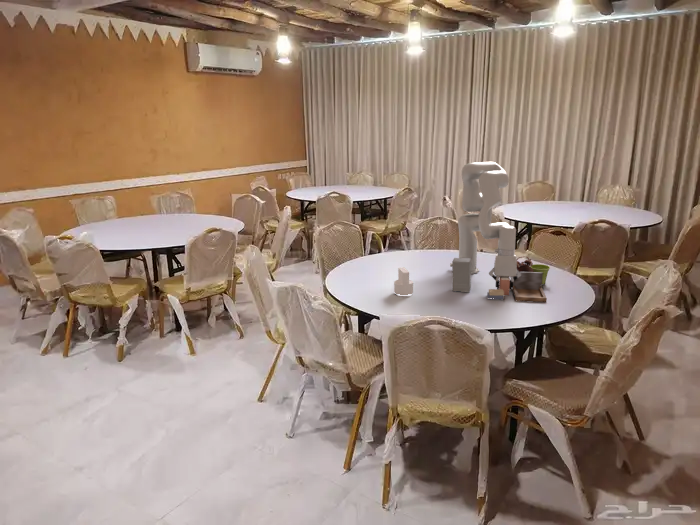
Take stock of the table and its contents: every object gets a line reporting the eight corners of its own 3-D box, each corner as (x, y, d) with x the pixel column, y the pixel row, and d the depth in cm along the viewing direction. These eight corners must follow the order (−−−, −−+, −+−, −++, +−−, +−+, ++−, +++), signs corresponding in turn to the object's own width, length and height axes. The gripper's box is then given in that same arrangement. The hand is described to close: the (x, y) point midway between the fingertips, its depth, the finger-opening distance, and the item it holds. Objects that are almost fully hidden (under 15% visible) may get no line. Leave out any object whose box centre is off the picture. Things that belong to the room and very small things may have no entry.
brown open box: (515, 300, 230) (516, 282, 228) (512, 289, 246) (513, 271, 244) (546, 302, 227) (547, 283, 225) (541, 290, 243) (542, 272, 241)
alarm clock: (528, 283, 254) (530, 254, 250) (533, 286, 249) (535, 257, 245) (508, 285, 252) (510, 256, 248) (513, 288, 248) (515, 258, 244)
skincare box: (470, 289, 248) (472, 257, 244) (469, 293, 242) (470, 261, 237) (453, 287, 251) (454, 256, 247) (451, 292, 244) (452, 260, 240)
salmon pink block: (500, 295, 238) (500, 279, 236) (498, 289, 247) (499, 273, 244) (508, 295, 237) (509, 279, 235) (507, 289, 246) (508, 273, 244)
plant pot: (550, 286, 249) (551, 269, 246) (530, 285, 251) (531, 269, 248) (547, 280, 257) (548, 264, 255) (527, 280, 259) (528, 263, 257)
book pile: (487, 299, 233) (487, 291, 232) (487, 296, 237) (487, 288, 236) (503, 300, 231) (504, 292, 230) (503, 297, 235) (503, 289, 234)
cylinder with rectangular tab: (415, 296, 240) (415, 271, 237) (396, 297, 238) (396, 273, 235) (410, 290, 248) (410, 266, 245) (392, 291, 247) (392, 268, 244)
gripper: (487, 253, 235) (485, 290, 240) (526, 254, 231) (523, 292, 236) (487, 249, 242) (485, 285, 247) (524, 250, 238) (521, 287, 243)
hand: (504, 288), depth 241 cm, fingers open, 5 cm apart
